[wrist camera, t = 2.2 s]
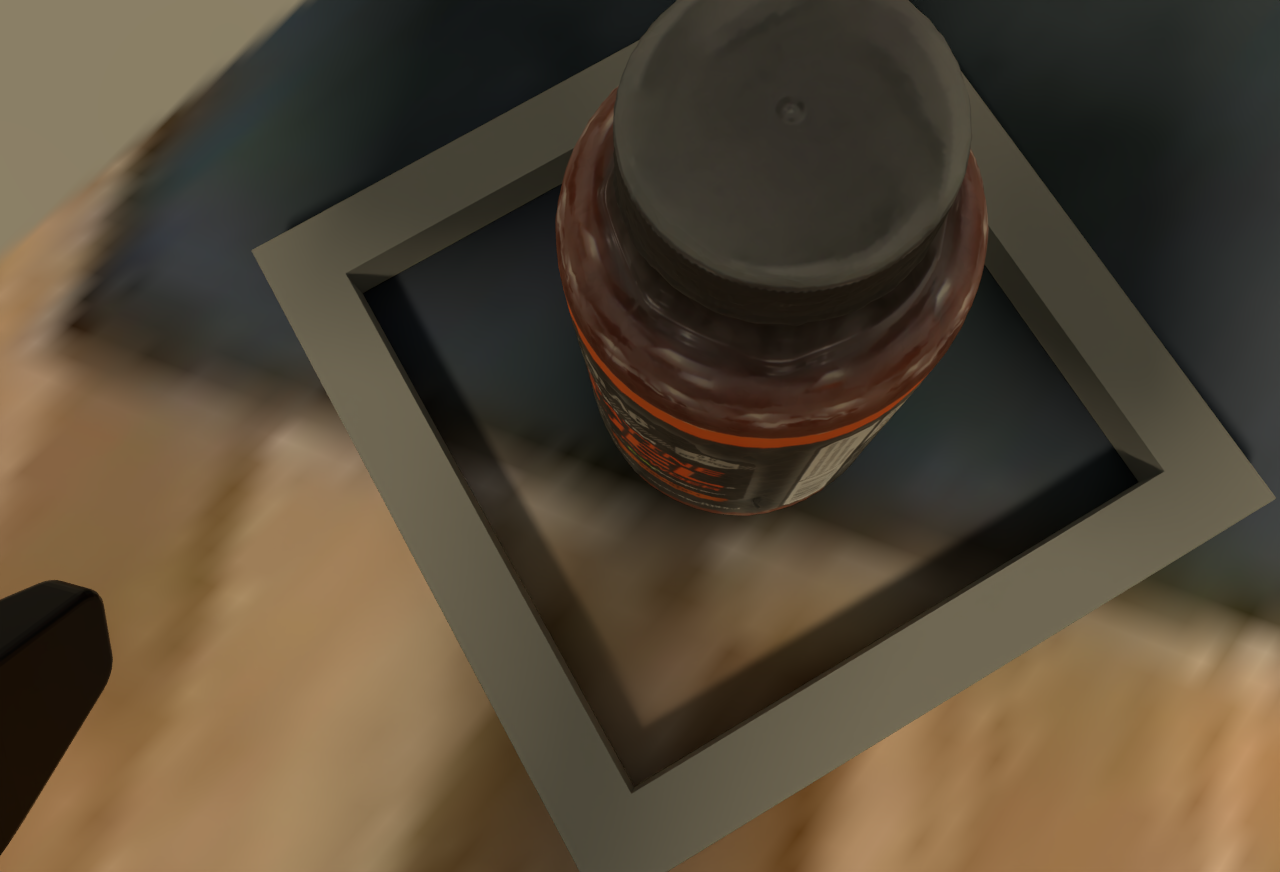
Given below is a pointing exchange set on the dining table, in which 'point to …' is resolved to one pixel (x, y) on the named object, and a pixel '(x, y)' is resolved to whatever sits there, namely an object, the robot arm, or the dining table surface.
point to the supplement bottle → (770, 241)
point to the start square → (858, 686)
